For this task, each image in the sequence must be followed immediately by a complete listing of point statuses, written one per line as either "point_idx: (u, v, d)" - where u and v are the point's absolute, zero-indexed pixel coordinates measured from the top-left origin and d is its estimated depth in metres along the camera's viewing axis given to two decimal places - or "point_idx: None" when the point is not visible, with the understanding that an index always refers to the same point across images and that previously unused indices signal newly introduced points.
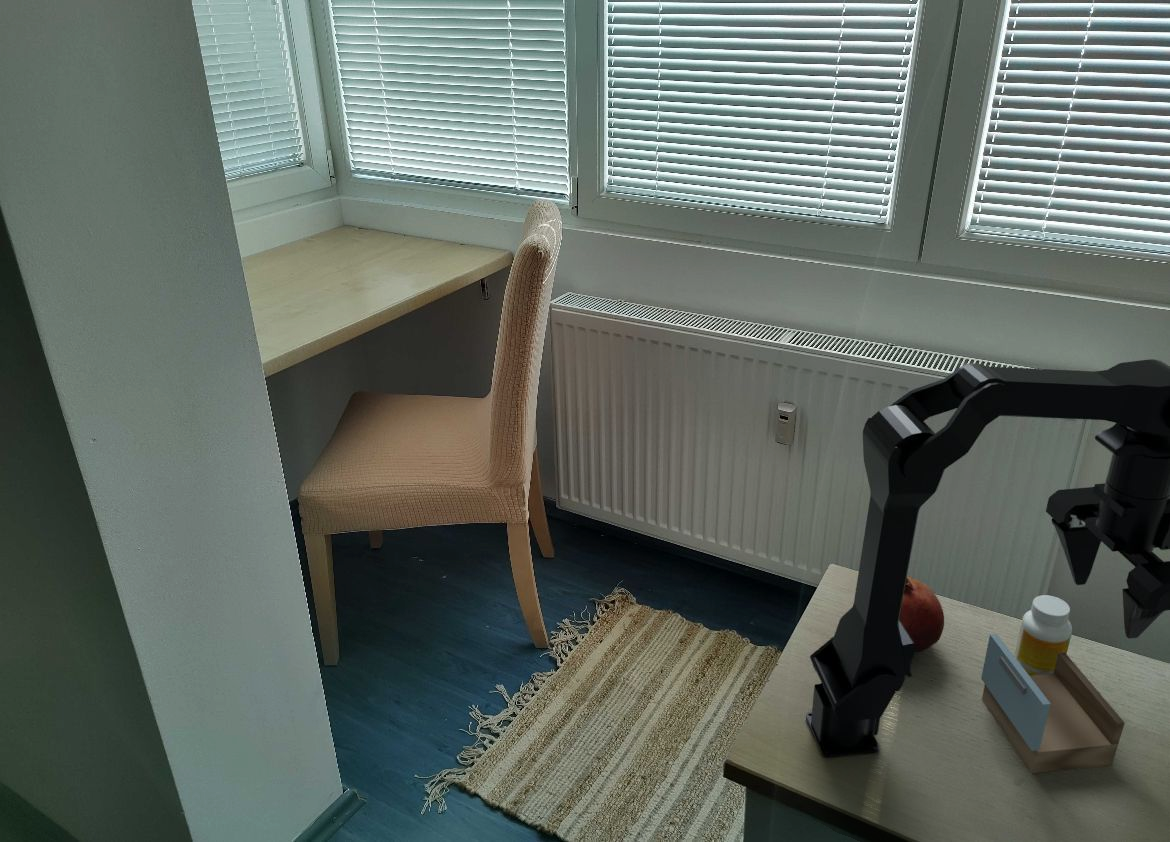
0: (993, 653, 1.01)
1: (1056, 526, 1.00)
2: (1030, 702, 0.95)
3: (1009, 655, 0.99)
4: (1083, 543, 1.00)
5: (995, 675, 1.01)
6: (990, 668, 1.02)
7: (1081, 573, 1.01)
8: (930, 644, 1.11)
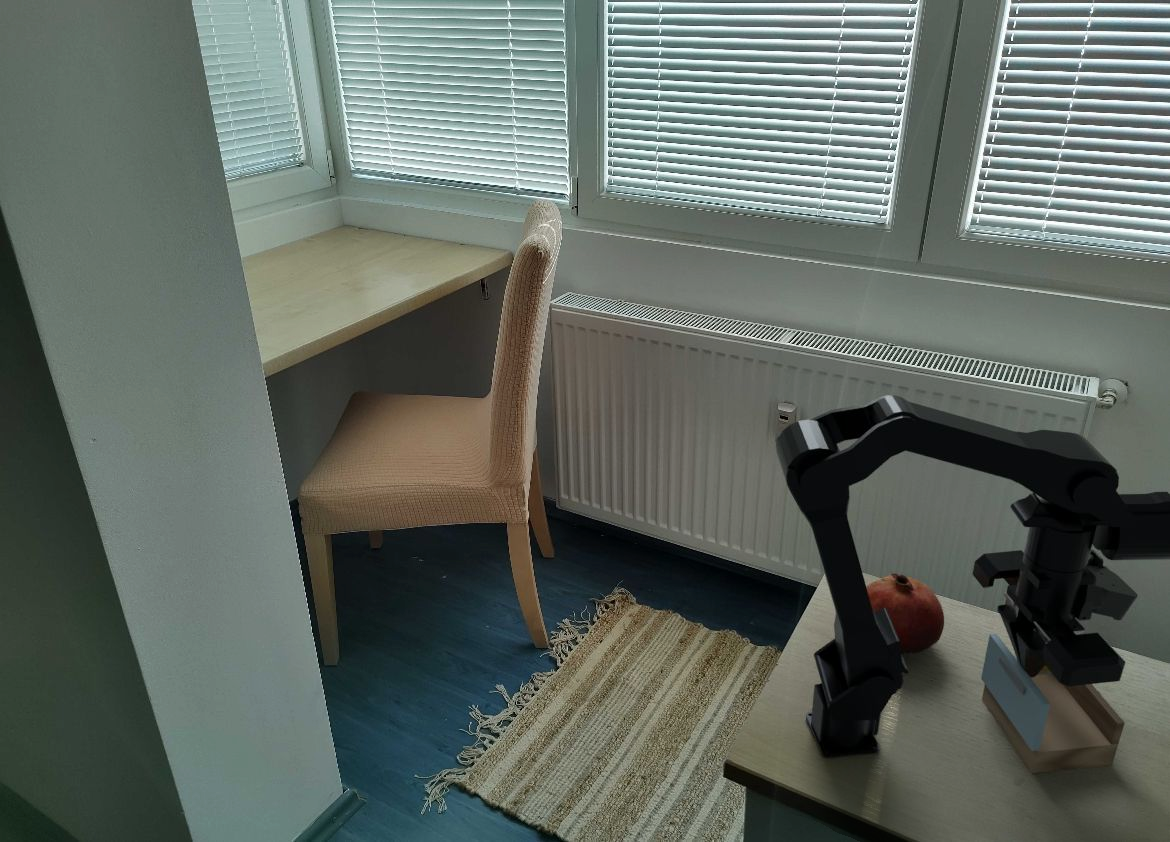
0: (993, 653, 1.01)
1: (1002, 615, 0.97)
2: (1030, 702, 0.95)
3: (1009, 655, 0.99)
4: None
5: (995, 675, 1.01)
6: (990, 668, 1.02)
7: None
8: (930, 644, 1.11)
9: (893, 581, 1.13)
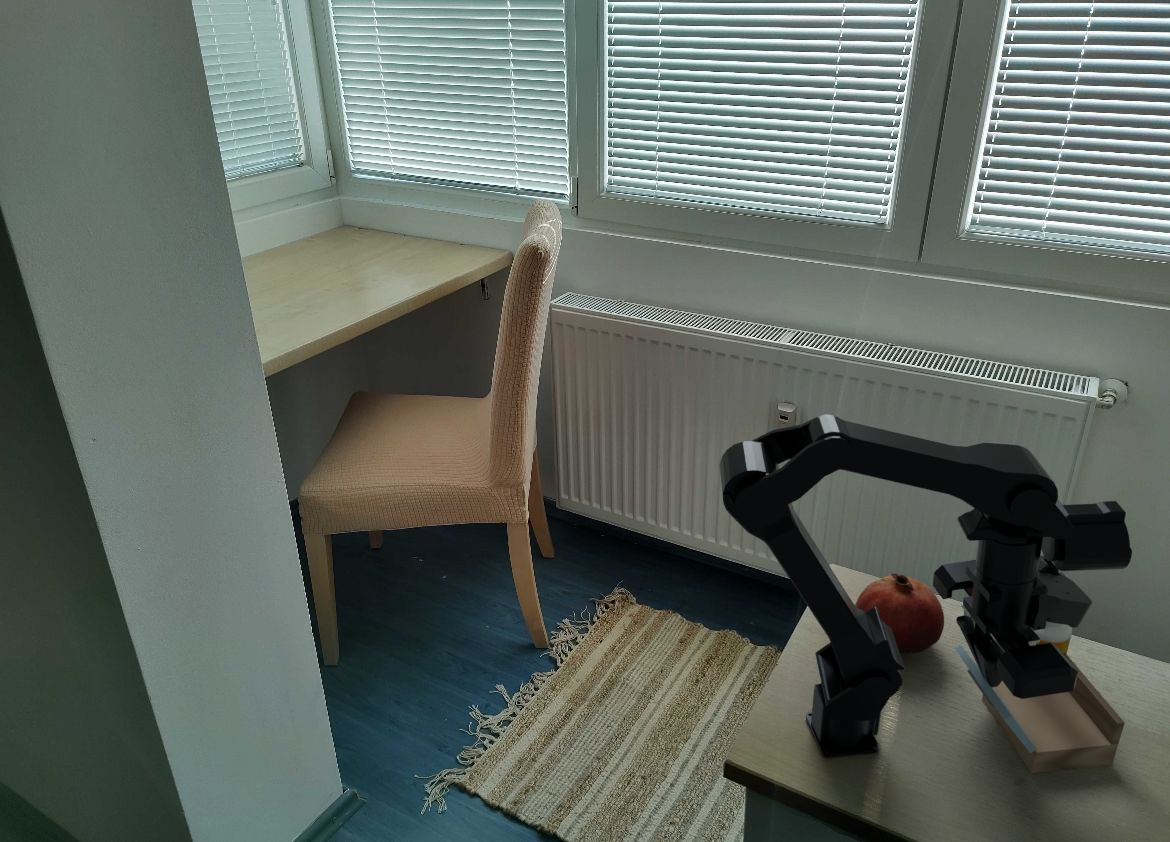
0: None
1: (960, 627, 0.97)
2: None
3: (972, 668, 0.99)
4: None
5: None
6: None
7: None
8: (930, 644, 1.11)
9: (893, 581, 1.13)
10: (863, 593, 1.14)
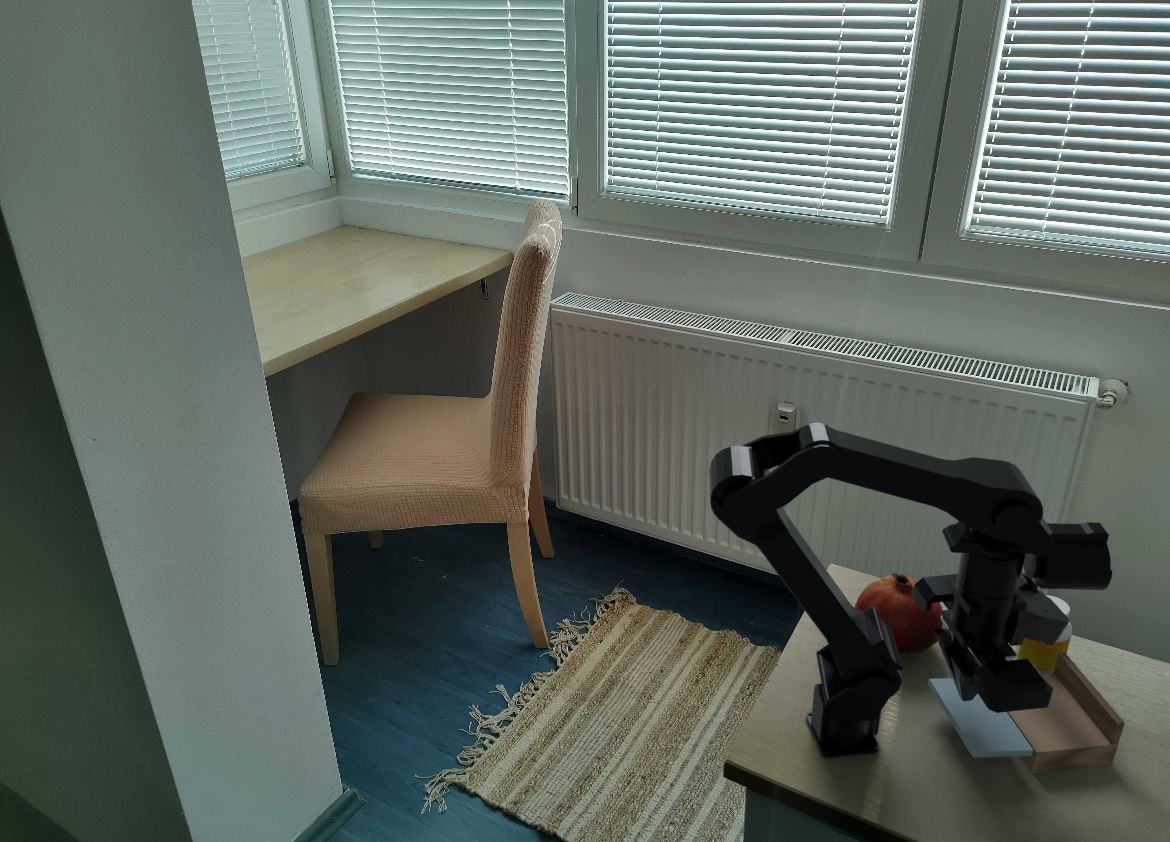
0: None
1: (938, 639, 0.97)
2: None
3: (942, 704, 1.01)
4: None
5: None
6: None
7: None
8: (930, 644, 1.11)
9: (893, 581, 1.13)
10: (863, 593, 1.14)
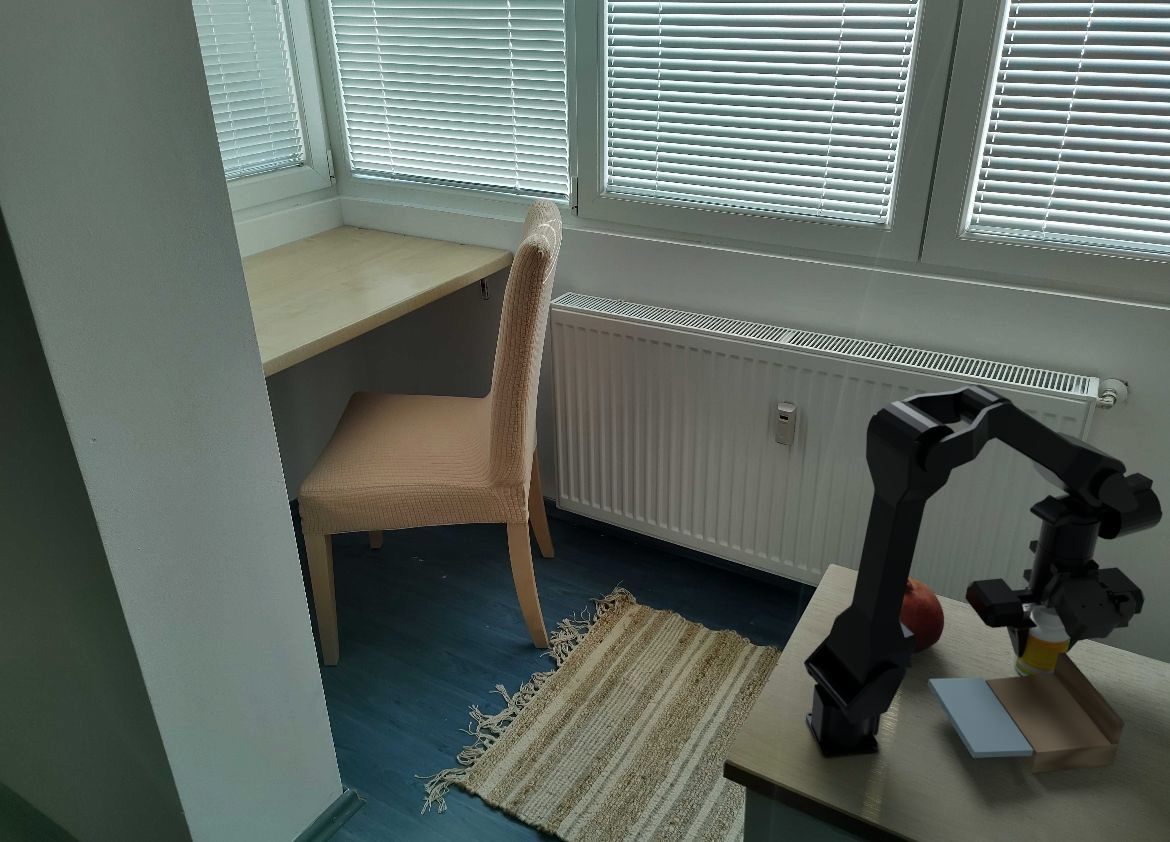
0: None
1: None
2: None
3: (942, 704, 1.01)
4: None
5: None
6: None
7: None
8: (930, 644, 1.11)
9: None
10: None
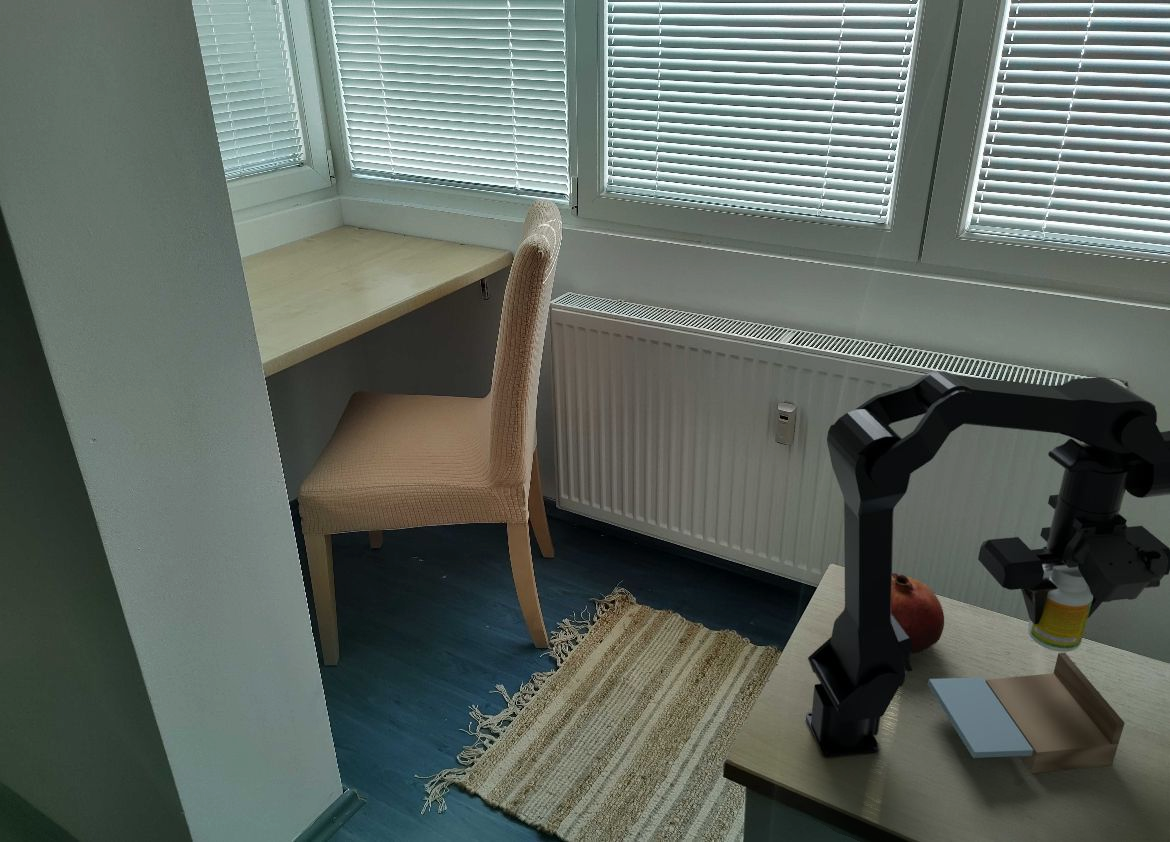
0: None
1: None
2: None
3: (942, 704, 1.01)
4: None
5: None
6: None
7: None
8: (930, 644, 1.11)
9: (893, 581, 1.13)
10: None
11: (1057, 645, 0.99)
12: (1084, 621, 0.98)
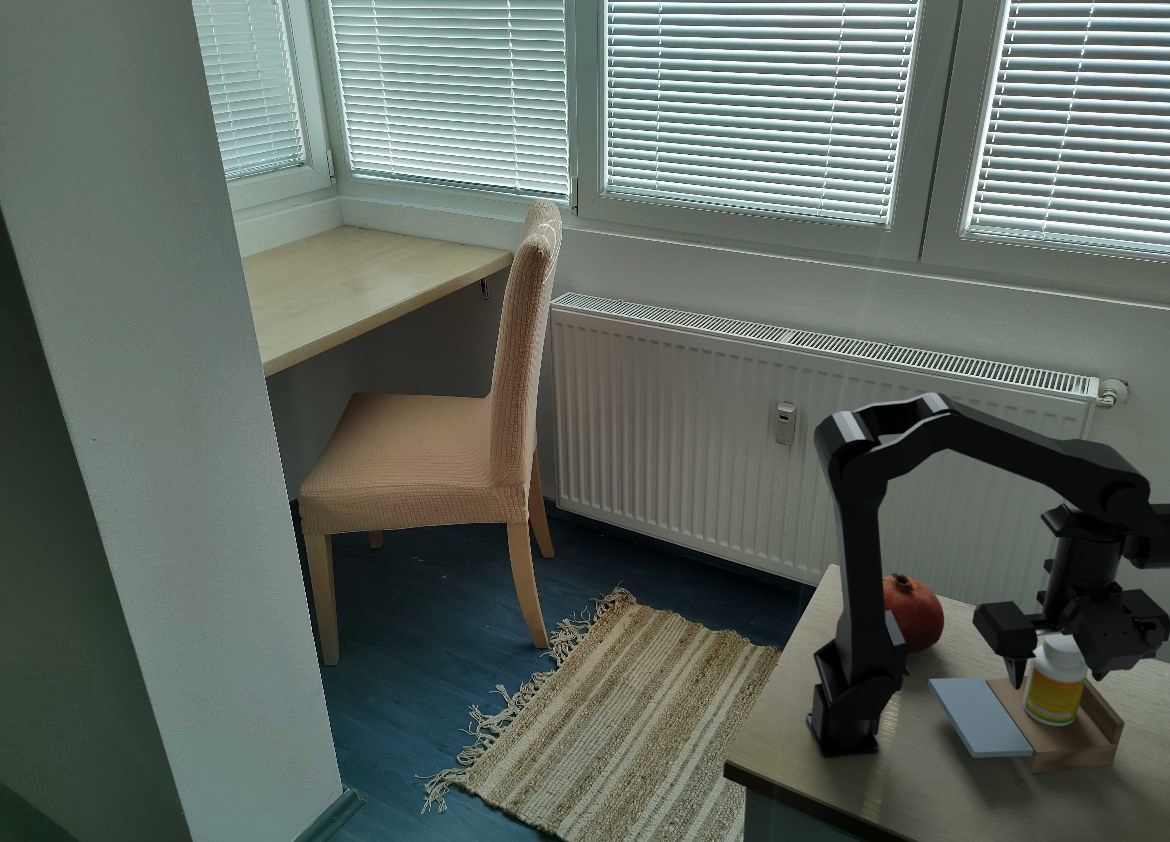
0: None
1: None
2: None
3: (942, 704, 1.01)
4: None
5: None
6: None
7: None
8: (930, 644, 1.11)
9: (893, 581, 1.13)
10: None
11: (1051, 720, 0.98)
12: (1078, 696, 0.97)
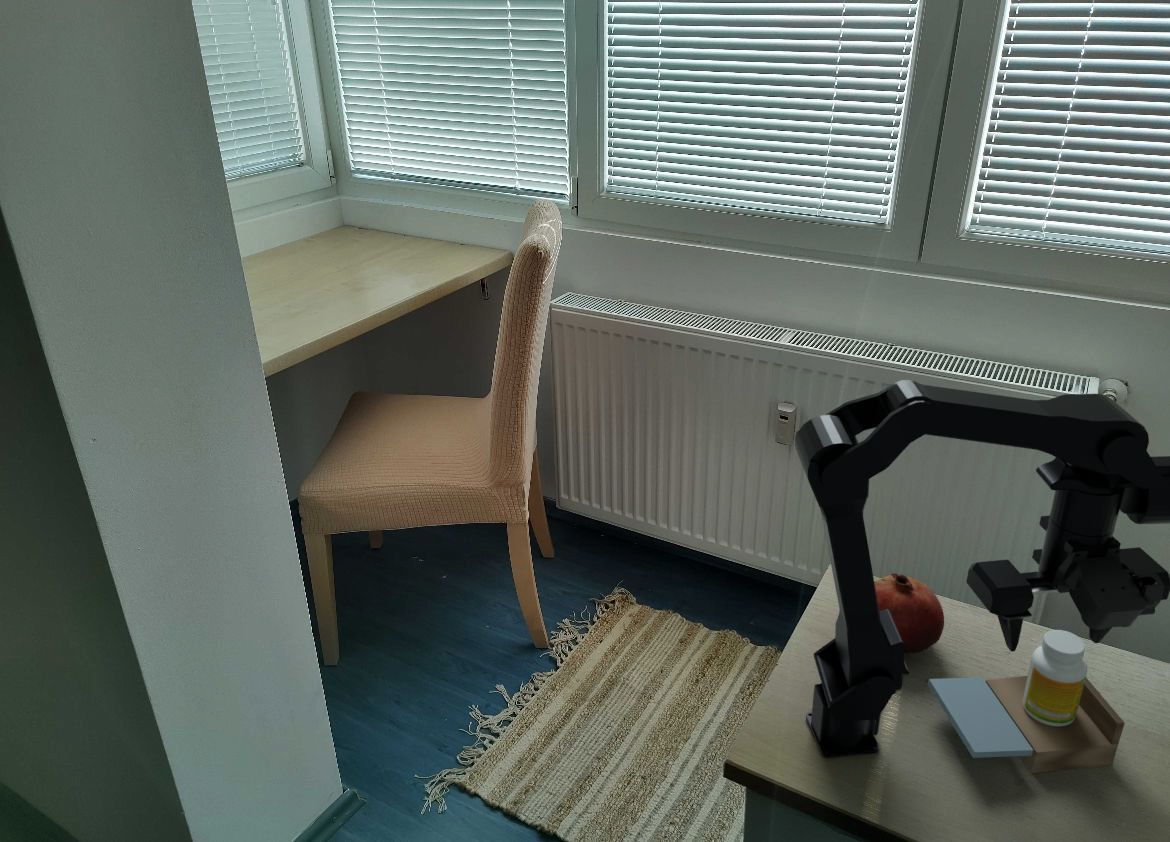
0: None
1: None
2: None
3: (942, 704, 1.01)
4: None
5: None
6: None
7: None
8: (930, 644, 1.11)
9: (893, 581, 1.13)
10: None
11: (1051, 720, 0.98)
12: (1078, 697, 0.97)
